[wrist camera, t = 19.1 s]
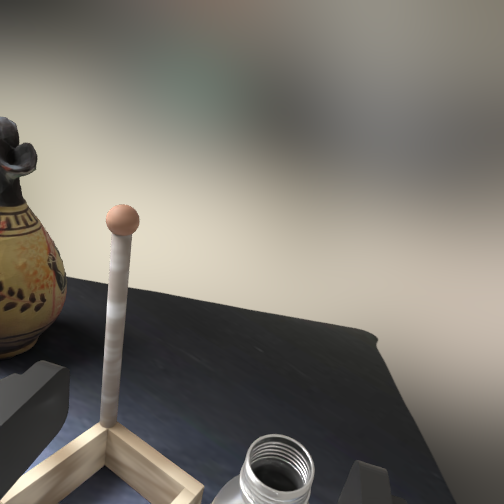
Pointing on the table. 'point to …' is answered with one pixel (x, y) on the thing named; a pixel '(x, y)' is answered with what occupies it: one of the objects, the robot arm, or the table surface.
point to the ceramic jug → (24, 254)
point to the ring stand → (109, 415)
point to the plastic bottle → (271, 474)
